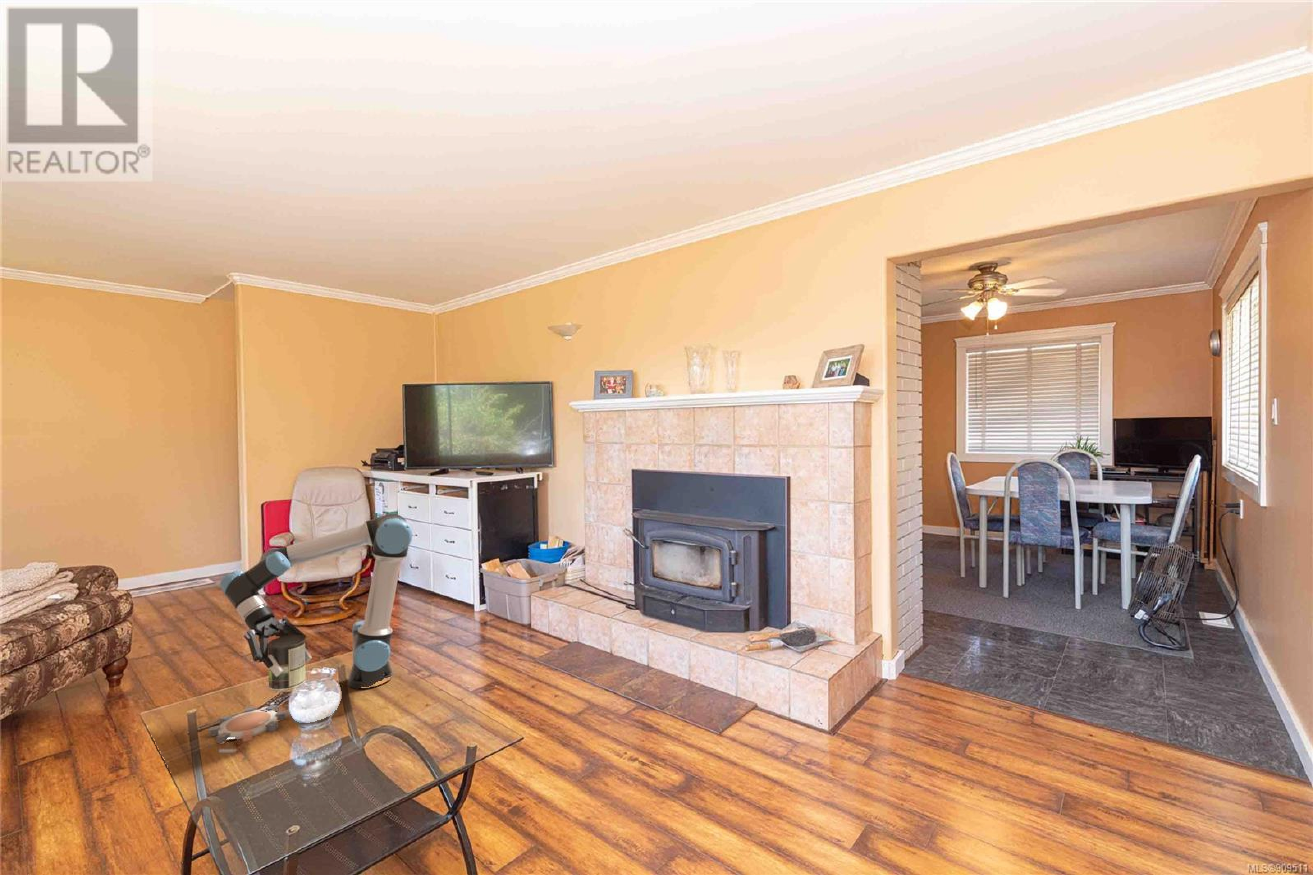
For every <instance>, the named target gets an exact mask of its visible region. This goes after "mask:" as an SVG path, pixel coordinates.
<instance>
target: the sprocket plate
mask: <svg viewBox="0 0 1313 875" xmlns="http://www.w3.org/2000/svg"><path fill="white" fill-rule="evenodd" d="M278 708H279V705H278V704H277V705H275V704H271V705H269V706H267V707H265V709H255V706H253V705H252V706H249V707H245V710H244V712H242V713H238V714H236V715H234V716H233V715H227V714H225V715H223V716H221V717H220V718H219V725H216V726H210V727H209V728H208V729H209V730H208V735H209V736H208V737H209V738H212V737H216V738H215V739H216V744H221V743H223V742H225V740H226V739H227V738H228V737H235V738H236V739H237V740H242V743H244V742H248V741H252V740H253V737H254V736H258V735H260V734H262V733H265V732H269V733H270V732H274V731H276V730H277V729H278V728H279V722H278V721H277V720H280V721H283V720H286V717H287V716H286V715H287V713H286V710H285V709H283V710H279V709H278ZM254 709H255V710H254ZM260 710H269V711H267V712H261V711H260ZM275 710H278V711H277V712H275ZM225 743H226V742H225ZM223 744H224V743H223Z"/></svg>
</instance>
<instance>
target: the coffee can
mask: <svg viewBox="0 0 1313 875" xmlns="http://www.w3.org/2000/svg"><path fill="white" fill-rule="evenodd" d="M306 638H307V637H306ZM306 638H305V637H304V636H302V635H289V636H283V637H279V636H278V637H276V638H275V639H272V640H270V641H268V656H269V655H272V656H273V657H274V659H275V660H276V662H277V663H278V664H279V666H280V667H281V669H282V670H283V671H282V672H281V674H280V675H279V676H277V677H276V676H275V675H274V673H273V672H272V670H271V669H270V668H268V689H269V690H270V691H271V692H272V691H273V692H285V691H290V690H293V689H296V688H299V687H300V686H303V685H304V684H305V683H306V681H307V679H306V663H305V645H306ZM304 682H305V683H304Z"/></svg>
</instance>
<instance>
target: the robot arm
mask: <svg viewBox="0 0 1313 875" xmlns="http://www.w3.org/2000/svg"><path fill="white" fill-rule="evenodd" d="M412 539H413V532H412V528H411V526H410V524H409V523H408V521H407V520H406V519H405V518H404V517H403V516H401V515H399V514H397V513H390V514H385V515H381V516H379V517H375V518H373V519H369V520H366V521H364V523H363V524H362V525H358V526H355V527H351V528H347V529H343V530H341V531H338V532H334V533H329V534H326V535H323V536H322V535H321V536H319V537H316V538H312V539H308V540H304V541H301V542H298V543H294V544H290V545H287V546H283V547H280V548H278V547H277V548H276V547H273V548H269V549H268V550H266V551H265V552H263V554H262V555H261V557H260V559H259V561H258V563H256V564H255V565H254V566H253V567H251V568H250V569H248V570H246V571H245V572H244V571H243V570H235V571H233V572H231V573H228V574H226V575H225V576H224V577H222V579H220V582H219V587H220V588H221V590H222V592H223V594H224V595H225V596H226V598H227V599H228V601H229V602H230V603H231V604H232V605H233V607H234V608H235V610H236V612H237V613H238V614H239V616H240V617H241V619H242V620H244V623H245V624H246V625H247V627H248V628H249V629H248V630H247V631H246V633H245V634H244V635H243V637H244V639H245V640H246V641H247V644H248V647H249V650H250V653H251V657H252V660H253V662H259V663H264V665H265V667H266V668H267V669H269V668H270V669H271V670H272V672H273V673H274V675H275V676H276V677H277V676H279V675H280V674H281V672H282V671H283V670H282V669H281V667H280V666H279V664H278V663H277V662H276V660H275V659H274V657H273V656H272V655H269V656H268V643H269V638H271V637H274V636H275V637H276V638H279V637H283V636H289V635H302V636H304V637H305V638H307V635H306V634H304V633H303V631H301V630H300V629H299V628H298V627H297V626H295V625H294V624H293V623H292V622H291V621H290V620H289V619H288V617H286V616H284V617H283V618H281V619H277V618H276V617H275V613H274V612H273V610H272V609H271V607H270V606H268V603H267V602H266V601H265V599H264V598H263V597H262V595H261V594H260V593H259V591H260V590H263V588H264V587H266V586H268V585H269V584H270V583H271V582H274V580H277V579H278V578H279V577H281V576H283V575H284V574H285V573H286V572H287V571H288V570H290V569H291V568H292V567H296V566H299V565H302V564H306V563H308V562H313V561H316V560H319V559H322V558H323V559H324V558H326V557H329V556H333V555H336V554H340V553H344V552H346V551H351V550H354V549H357V548H360V547H363V546H367V545H368V546H370V547H372V552H371V553H372V556H373V557H374V558H375V561H374V566H373V571H372V577H371V581H370V586H369V587H370V588H369V593H368V599H367V604H366V610H365V614H364V619H363V620H359V621H356V622H355V623H353V625H352V630H351V633H352V660H353V661H352V665H351V669H350V672H349V675H348V678H347V679H348V683H347V684H348V686H349V687H350V688H352V689H357V690H360V689H359V688H361V687H369V686H371V685H373V684H375V683H376V682H378V681H382V680H383V679H384V678H388V677H391V676H392V677H393V669H392V666H391V664H390V660H389V659H390V656H391V654H392V653H391V651H392V650H391V643H392V637H393V632H394V630H393V628H392V627H391V626H390V624H391V619H392V618H391V617H392V614H393V608H394V603H395V602H394V601H395V596H396V590H397V585H398V580H399V574H400V571H401V570H400V569H401V565H402V561H403V560H404V559H405V558H406V557H407V556H408V555H407V554H408V551H409V546H410V544H411V542H412ZM256 636H258V639H257V637H256ZM312 658H313V657H312V655H311V654H310V652H309V651H308V647H307V645H306V644H305V664H307V663H309V662H310V660H311V659H312Z"/></svg>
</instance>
